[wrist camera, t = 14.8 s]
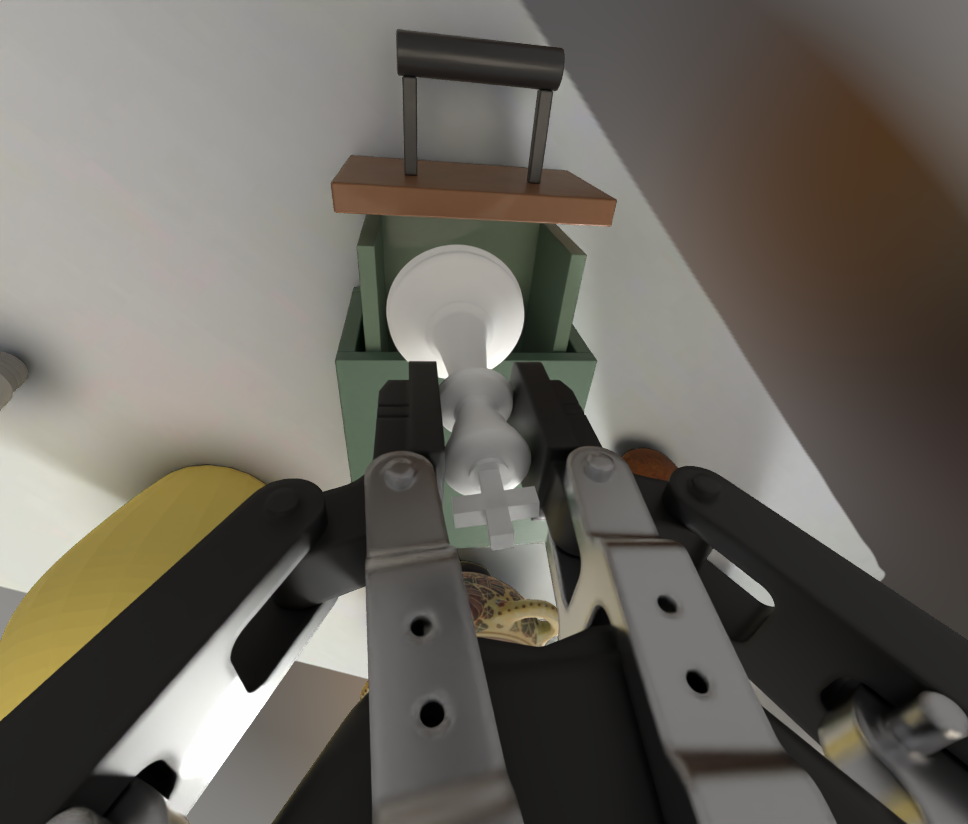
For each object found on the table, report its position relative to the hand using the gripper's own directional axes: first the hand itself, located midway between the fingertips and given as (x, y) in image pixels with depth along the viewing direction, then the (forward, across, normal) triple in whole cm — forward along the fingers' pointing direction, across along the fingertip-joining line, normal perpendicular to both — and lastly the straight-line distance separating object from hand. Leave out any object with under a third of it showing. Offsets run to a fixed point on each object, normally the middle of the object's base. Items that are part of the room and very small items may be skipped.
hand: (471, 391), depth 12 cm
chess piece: (+5, 0, 0) cm, 5 cm away
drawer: (+19, -2, +2) cm, 19 cm away
